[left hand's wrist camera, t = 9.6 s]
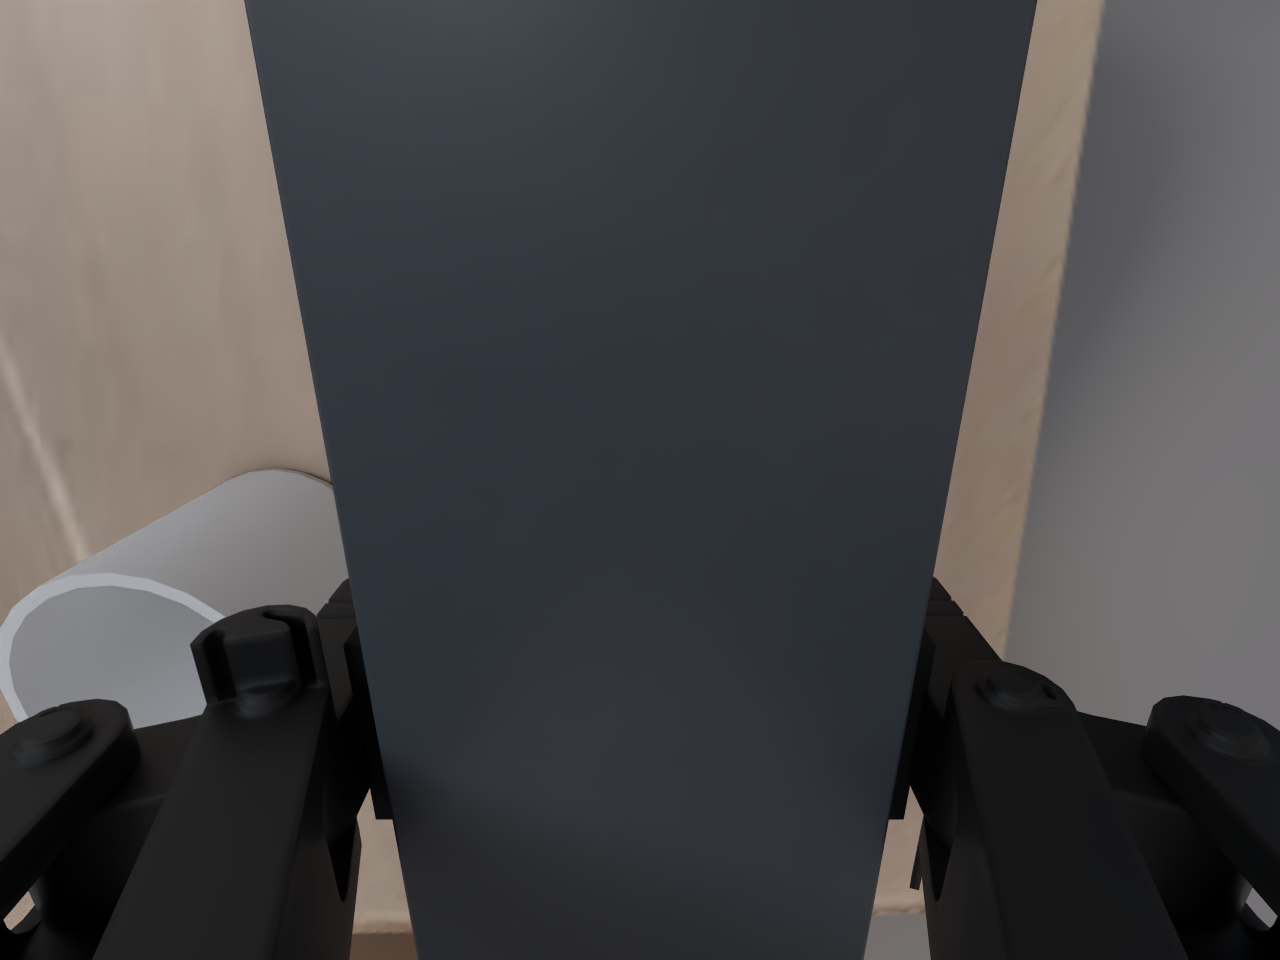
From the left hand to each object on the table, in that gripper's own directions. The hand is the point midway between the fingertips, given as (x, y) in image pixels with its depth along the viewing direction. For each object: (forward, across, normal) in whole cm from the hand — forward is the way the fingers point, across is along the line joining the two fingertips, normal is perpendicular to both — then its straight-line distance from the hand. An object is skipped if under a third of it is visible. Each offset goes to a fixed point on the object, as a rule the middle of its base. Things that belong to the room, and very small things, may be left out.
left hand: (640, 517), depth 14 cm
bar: (+1, 0, -7) cm, 7 cm away
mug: (+15, +17, +9) cm, 24 cm away
